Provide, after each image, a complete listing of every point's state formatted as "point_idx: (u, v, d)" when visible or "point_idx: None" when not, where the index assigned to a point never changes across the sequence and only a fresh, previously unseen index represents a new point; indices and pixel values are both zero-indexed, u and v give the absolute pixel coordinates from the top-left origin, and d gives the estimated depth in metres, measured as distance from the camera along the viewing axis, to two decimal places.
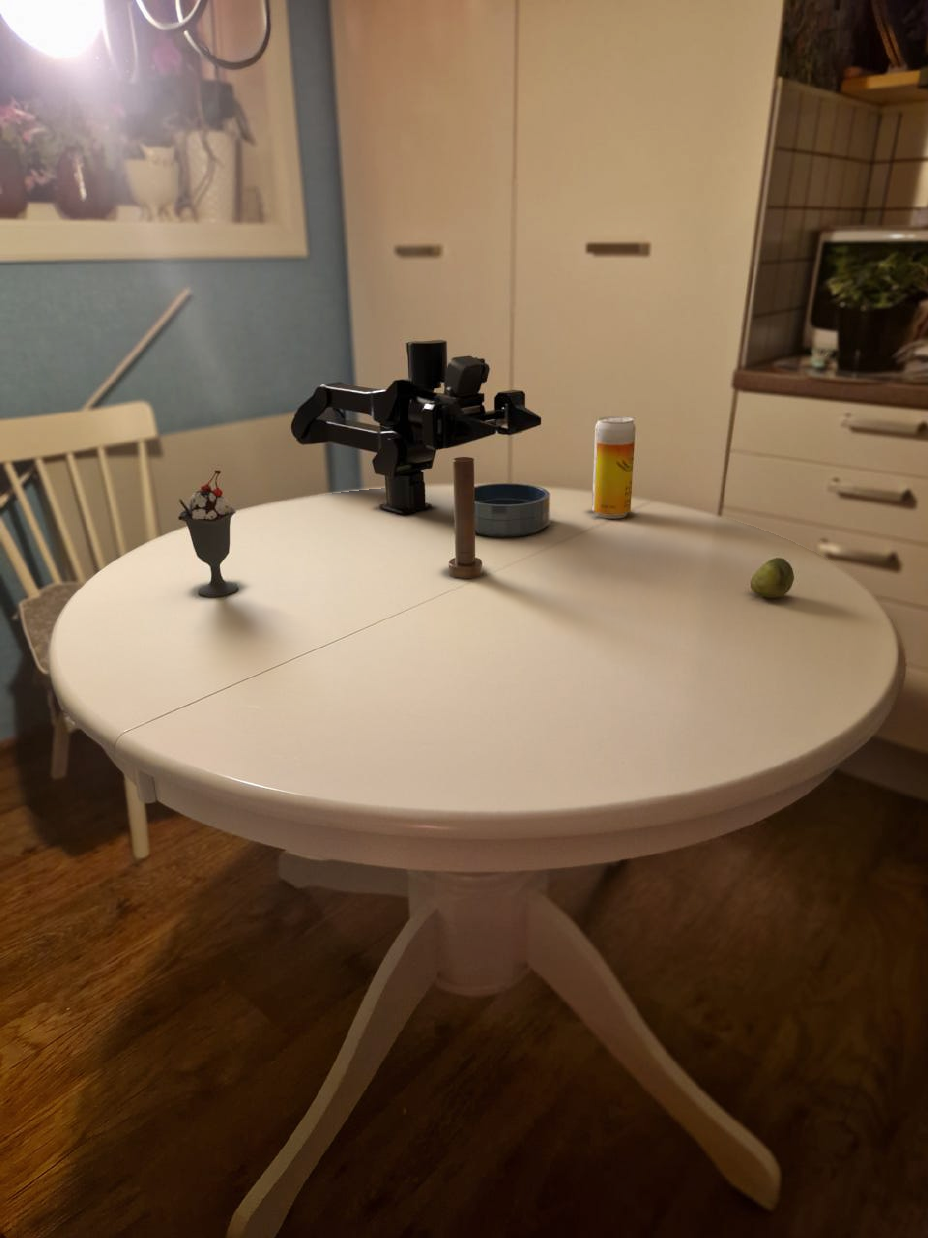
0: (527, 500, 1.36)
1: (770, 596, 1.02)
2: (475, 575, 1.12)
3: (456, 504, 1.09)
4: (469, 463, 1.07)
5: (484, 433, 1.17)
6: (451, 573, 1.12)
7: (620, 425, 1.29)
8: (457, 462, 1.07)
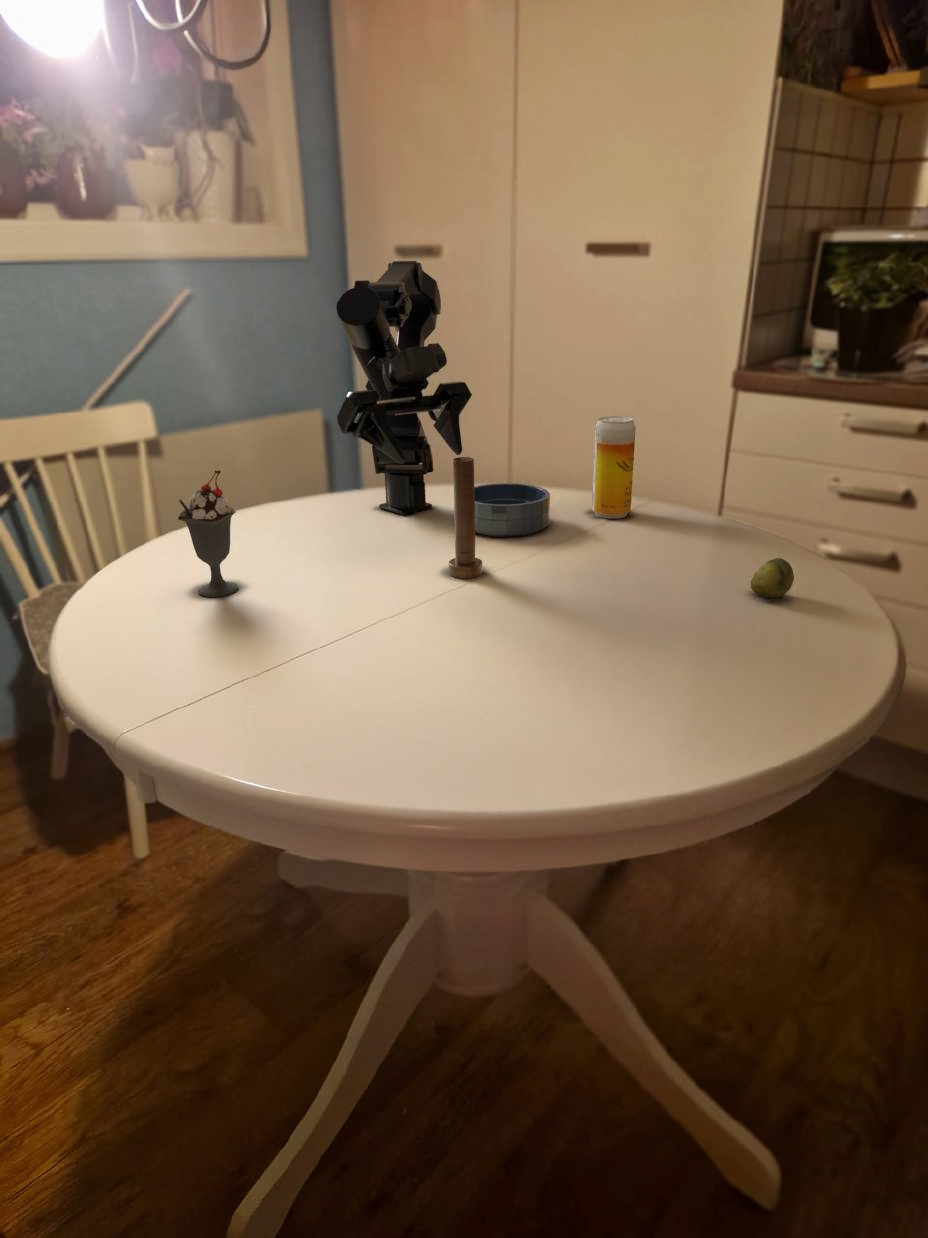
0: (527, 500, 1.36)
1: (770, 596, 1.02)
2: (475, 575, 1.12)
3: (456, 504, 1.09)
4: (469, 463, 1.07)
5: (392, 456, 1.12)
6: (451, 573, 1.12)
7: (620, 425, 1.29)
8: (457, 462, 1.07)
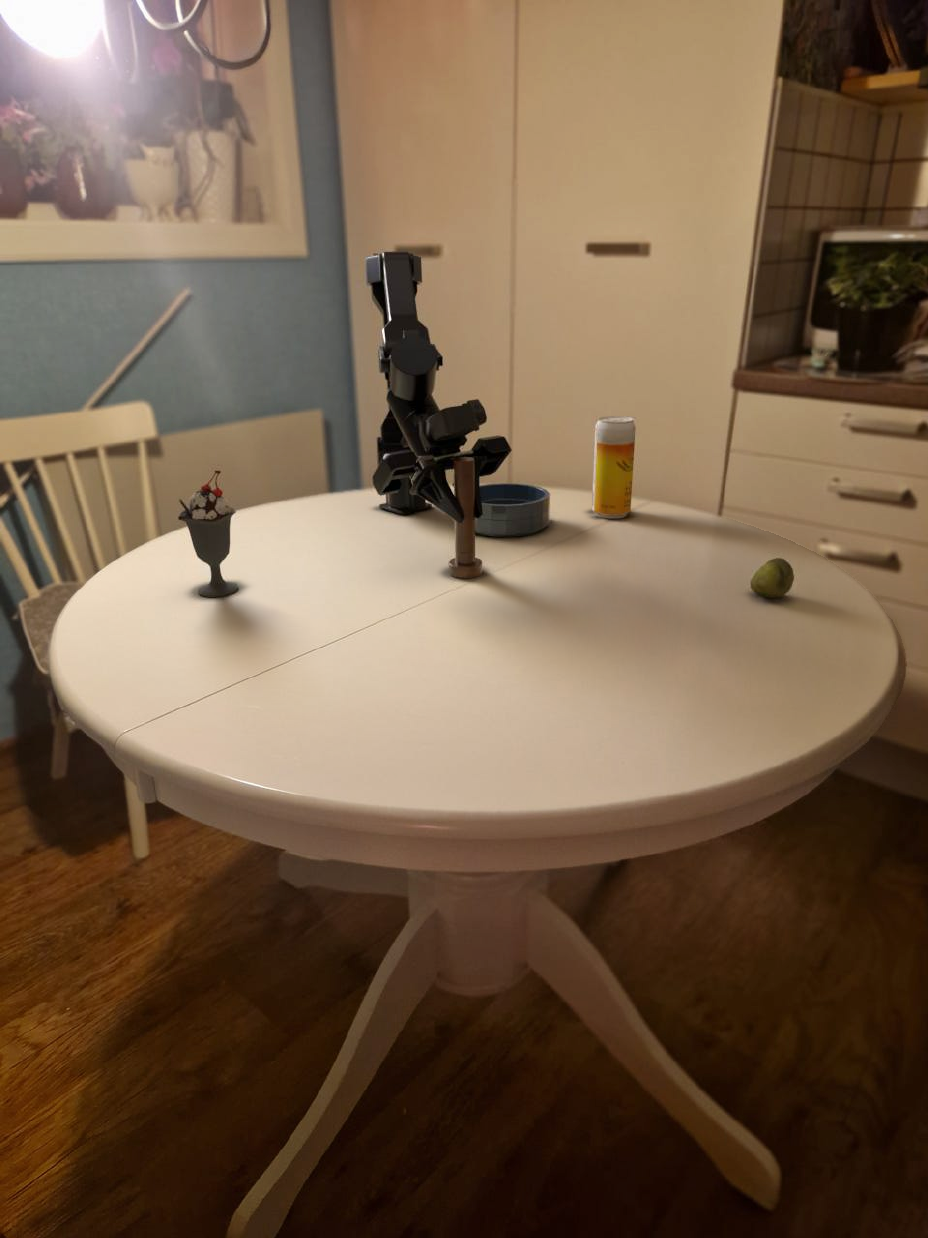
0: (527, 500, 1.36)
1: (770, 596, 1.02)
2: (475, 575, 1.12)
3: None
4: (469, 463, 1.07)
5: (451, 514, 1.09)
6: (451, 573, 1.12)
7: (620, 425, 1.29)
8: (457, 462, 1.07)
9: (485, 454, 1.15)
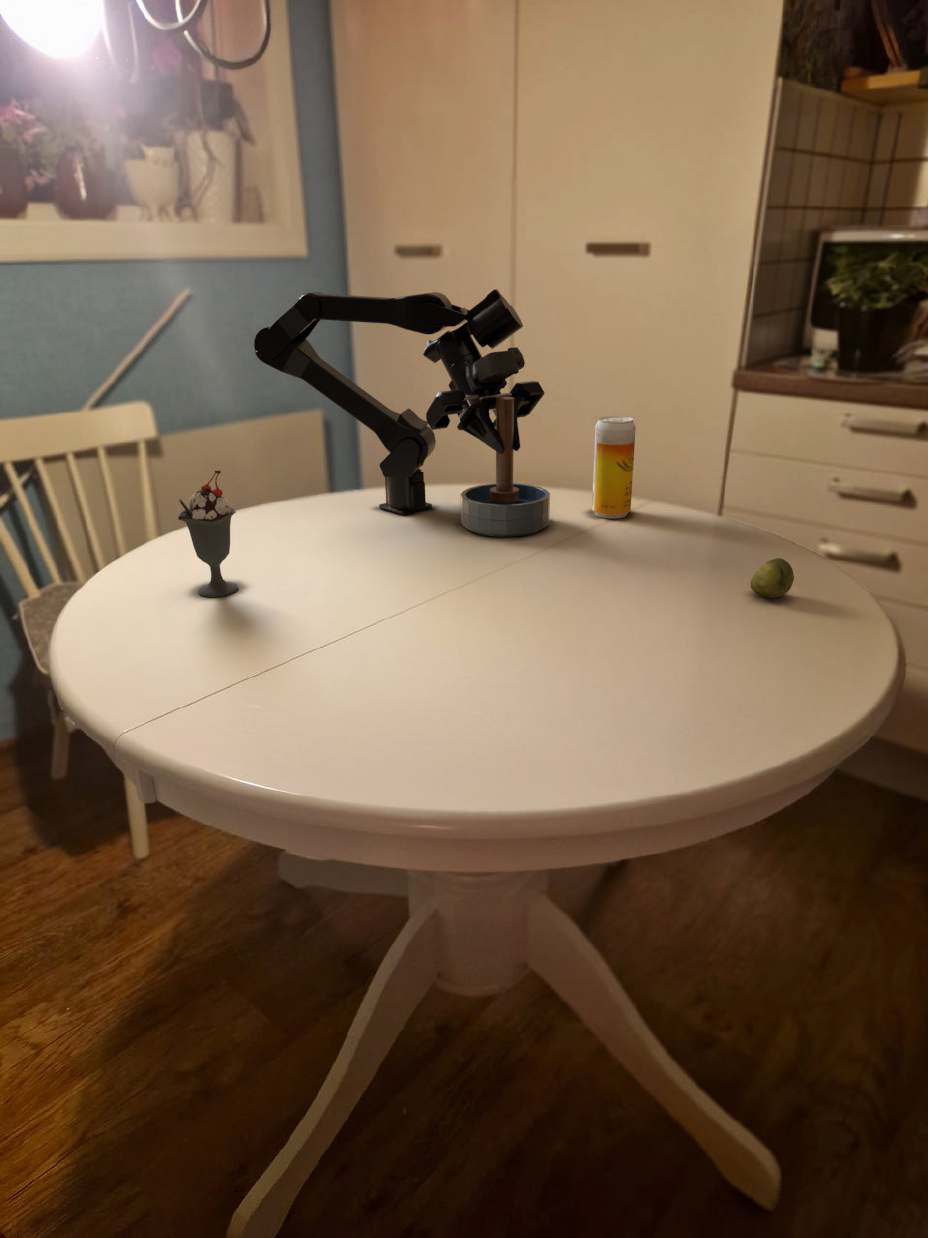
0: (527, 500, 1.36)
1: (770, 596, 1.02)
2: (513, 500, 1.29)
3: None
4: (510, 401, 1.24)
5: (493, 446, 1.27)
6: (492, 498, 1.30)
7: (620, 425, 1.29)
8: (499, 400, 1.24)
9: (521, 397, 1.32)
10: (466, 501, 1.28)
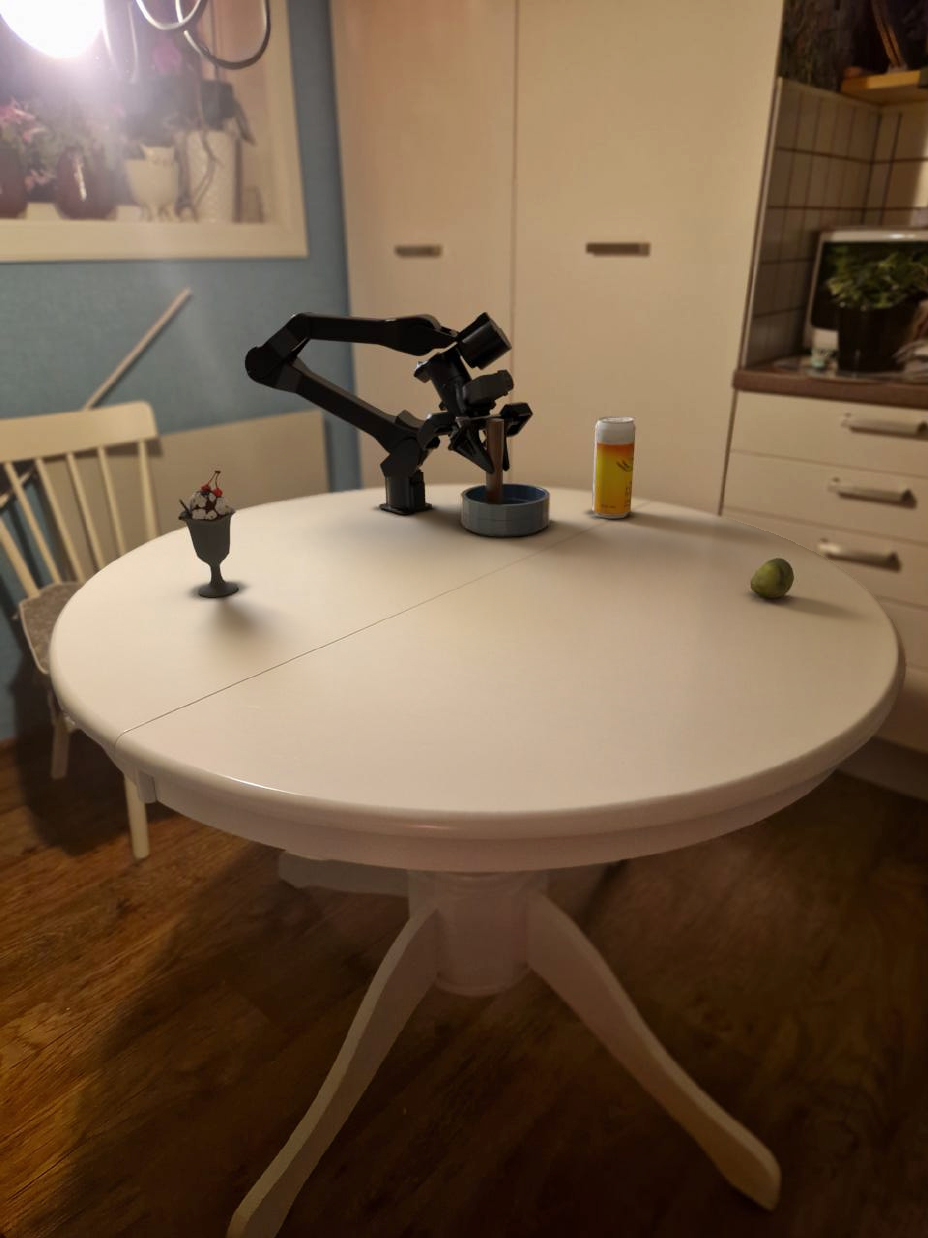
0: (527, 500, 1.36)
1: (770, 596, 1.02)
2: None
3: None
4: (499, 423, 1.26)
5: (483, 467, 1.29)
6: None
7: (620, 425, 1.29)
8: (489, 422, 1.26)
9: (510, 417, 1.34)
10: (466, 501, 1.28)
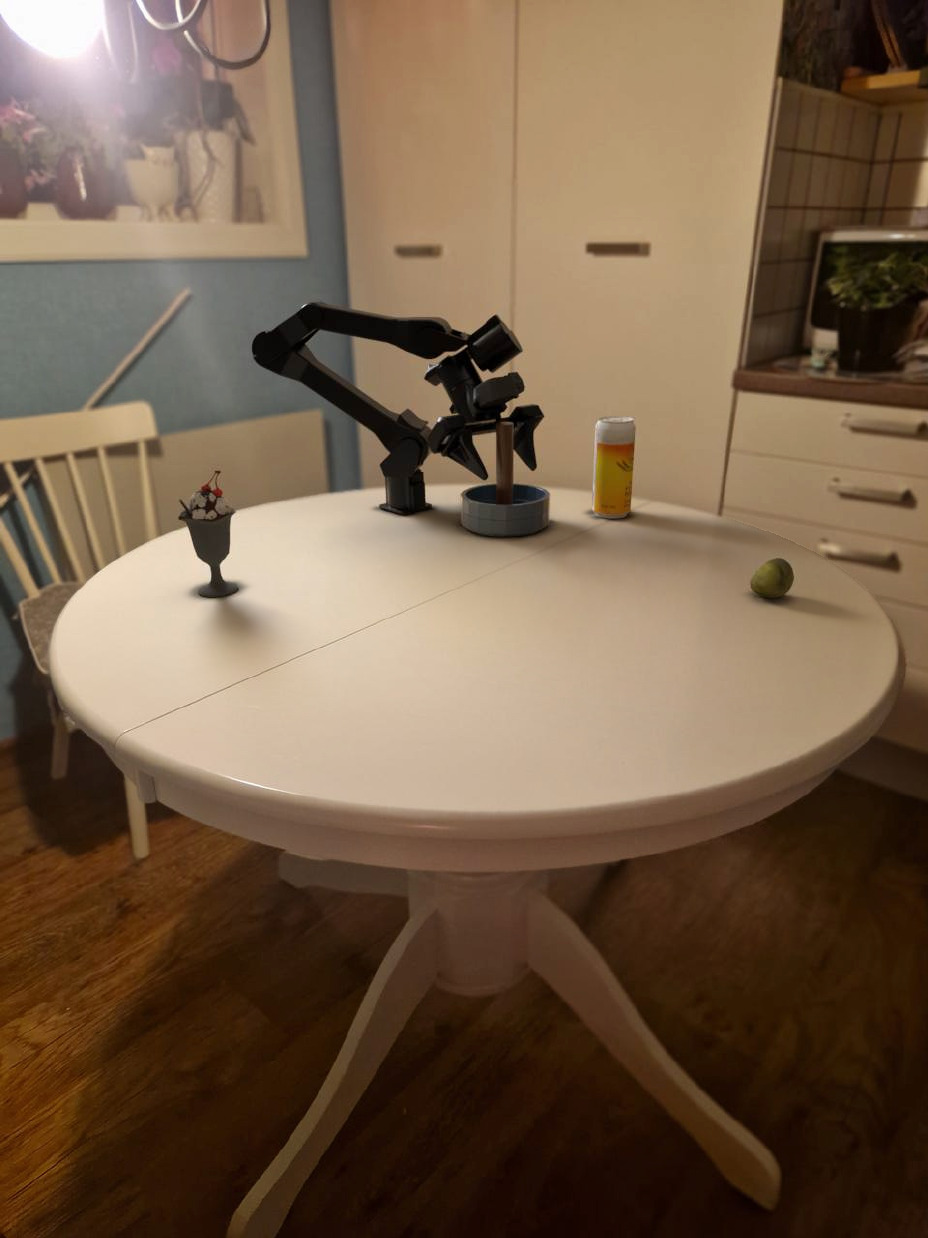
0: (527, 500, 1.36)
1: (770, 596, 1.02)
2: None
3: (498, 462, 1.28)
4: (509, 426, 1.26)
5: (477, 473, 1.27)
6: None
7: (620, 425, 1.29)
8: (499, 426, 1.26)
9: (521, 420, 1.34)
10: (466, 501, 1.28)
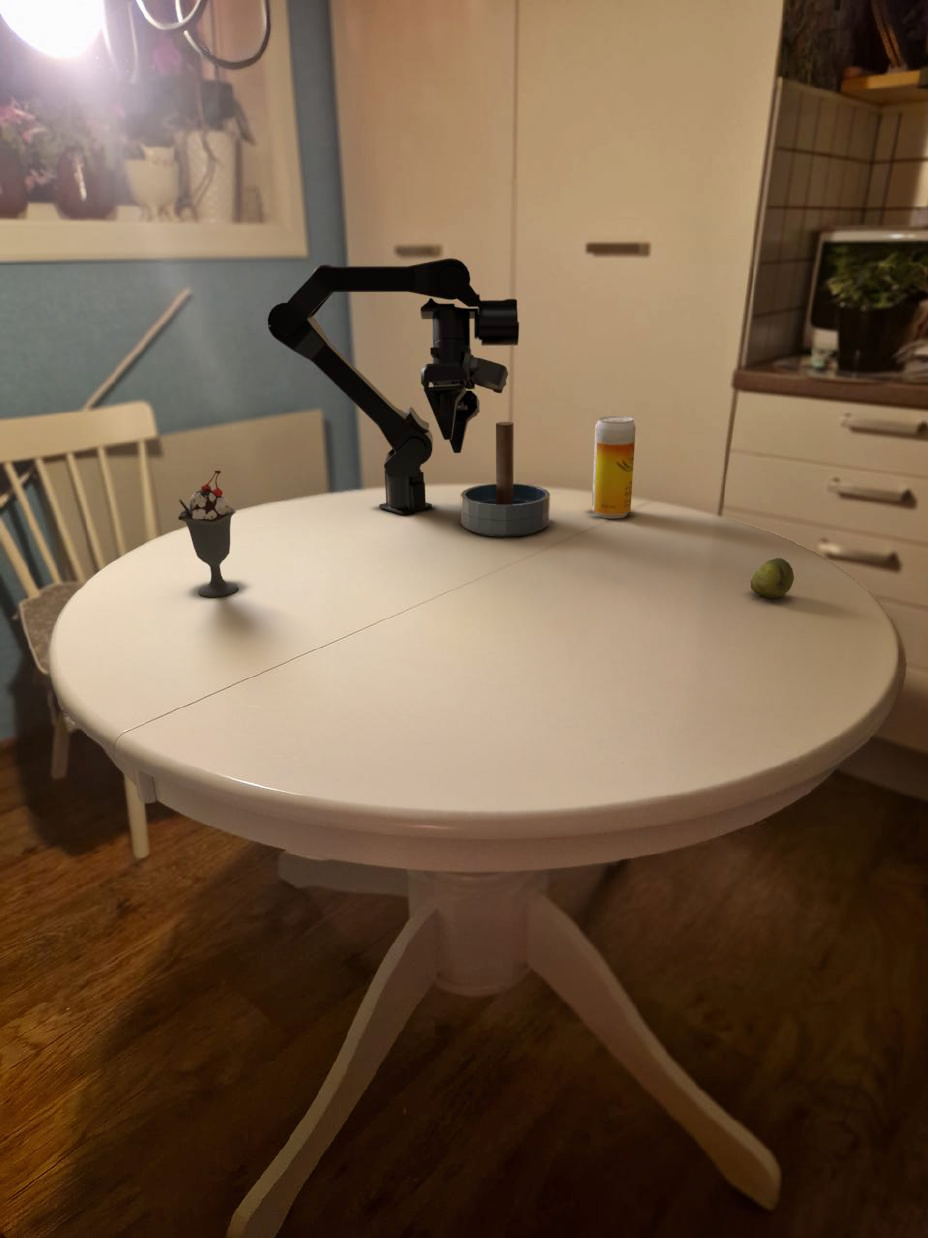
0: (527, 500, 1.36)
1: (770, 596, 1.02)
2: None
3: (498, 462, 1.28)
4: (509, 426, 1.26)
5: (443, 429, 1.27)
6: None
7: (620, 425, 1.29)
8: (499, 426, 1.26)
9: (461, 402, 1.38)
10: (466, 501, 1.28)
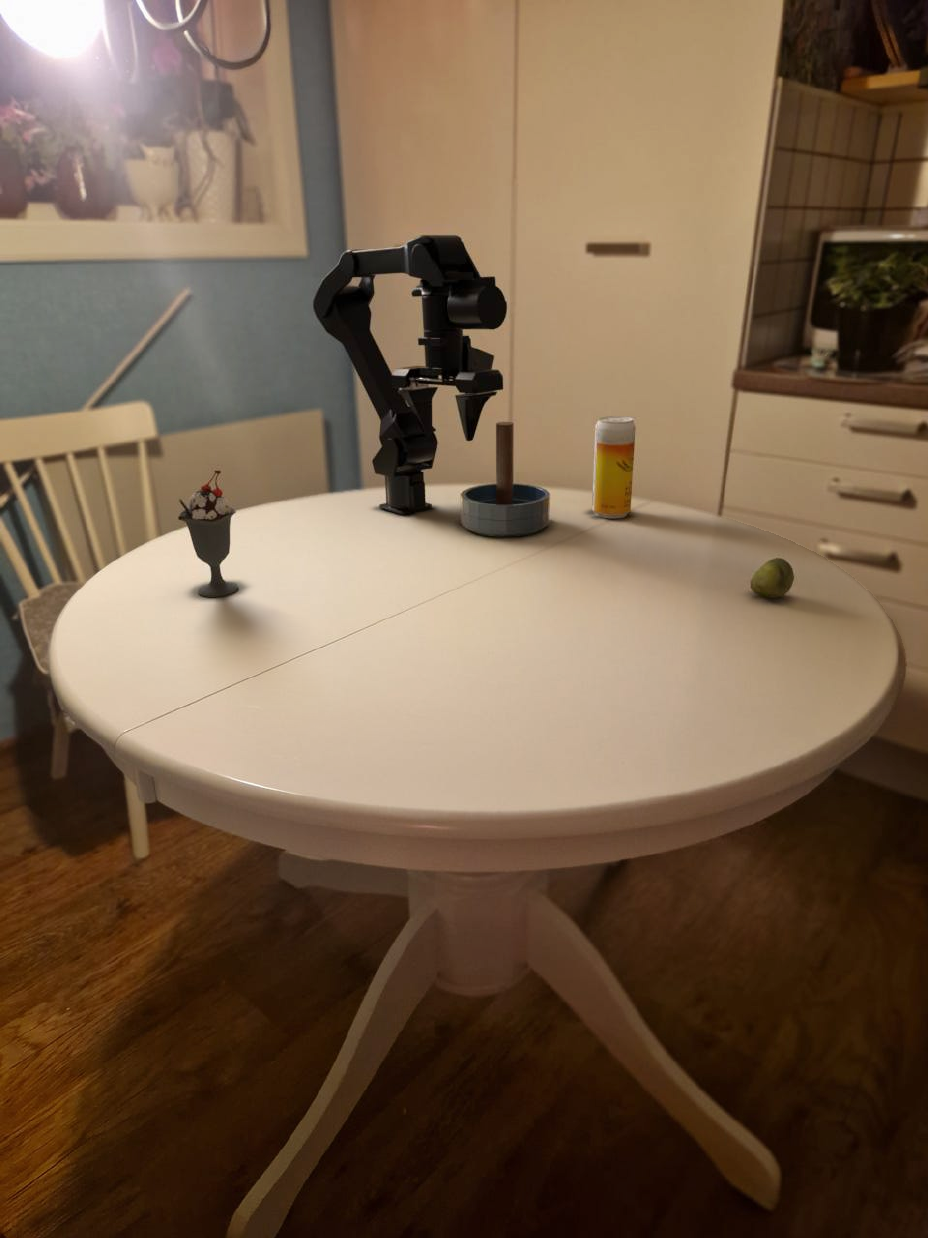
0: (527, 500, 1.36)
1: (770, 596, 1.02)
2: None
3: (498, 462, 1.28)
4: (509, 426, 1.26)
5: (469, 431, 1.26)
6: None
7: (620, 425, 1.29)
8: (499, 426, 1.26)
9: None
10: (466, 501, 1.28)
